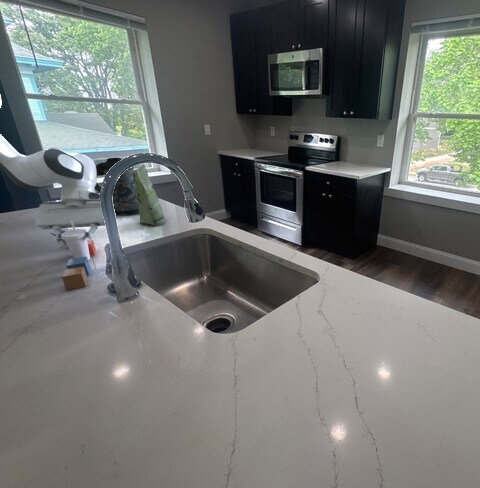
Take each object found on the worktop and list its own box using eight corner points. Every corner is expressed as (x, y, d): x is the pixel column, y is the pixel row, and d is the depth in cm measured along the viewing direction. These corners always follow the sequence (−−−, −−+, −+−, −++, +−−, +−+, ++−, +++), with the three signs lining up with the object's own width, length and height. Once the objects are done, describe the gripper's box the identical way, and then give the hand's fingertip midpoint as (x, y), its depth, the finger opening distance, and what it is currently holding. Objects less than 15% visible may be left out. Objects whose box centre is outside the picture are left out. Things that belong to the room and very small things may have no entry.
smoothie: (85, 264, 96) (71, 224, 90) (65, 263, 96) (50, 223, 90) (99, 255, 101) (86, 216, 95) (80, 254, 101) (67, 216, 95)
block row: (66, 290, 85) (61, 277, 83) (80, 252, 106) (76, 241, 104) (86, 286, 87) (81, 273, 85) (96, 250, 108) (92, 239, 106)
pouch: (148, 229, 126) (134, 170, 115) (132, 223, 132) (118, 166, 121) (172, 222, 135) (161, 166, 124) (157, 216, 140) (145, 162, 129)
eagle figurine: (46, 243, 108) (52, 246, 103) (53, 224, 109) (59, 226, 104) (72, 248, 114) (79, 251, 109) (78, 230, 115) (86, 232, 110)
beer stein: (156, 208, 150) (145, 157, 139) (118, 220, 134) (103, 164, 123) (134, 203, 156) (122, 154, 145) (95, 214, 140) (78, 159, 129)
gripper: (33, 197, 93) (27, 238, 89) (109, 194, 99) (107, 232, 95) (46, 206, 99) (41, 245, 95) (116, 203, 104) (115, 239, 100)
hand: (74, 239), depth 95 cm, fingers closed on smoothie, 6 cm apart
